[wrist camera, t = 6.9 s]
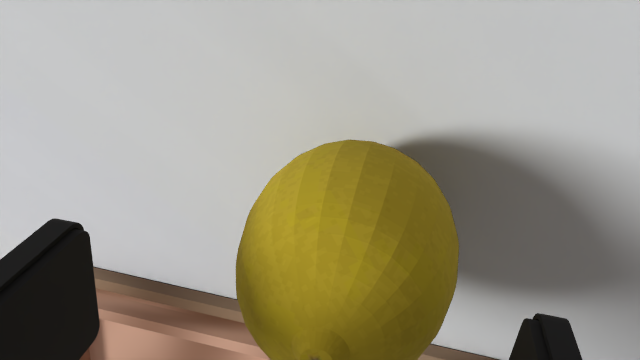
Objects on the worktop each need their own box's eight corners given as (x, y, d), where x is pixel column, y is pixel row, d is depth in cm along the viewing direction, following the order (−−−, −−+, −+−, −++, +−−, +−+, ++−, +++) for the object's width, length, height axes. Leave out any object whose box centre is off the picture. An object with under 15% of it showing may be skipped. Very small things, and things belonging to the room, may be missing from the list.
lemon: (494, 185, 16) (528, 382, 9) (375, 283, 19) (332, 495, 12) (361, 65, 16) (291, 183, 9) (255, 184, 18) (136, 349, 11)
